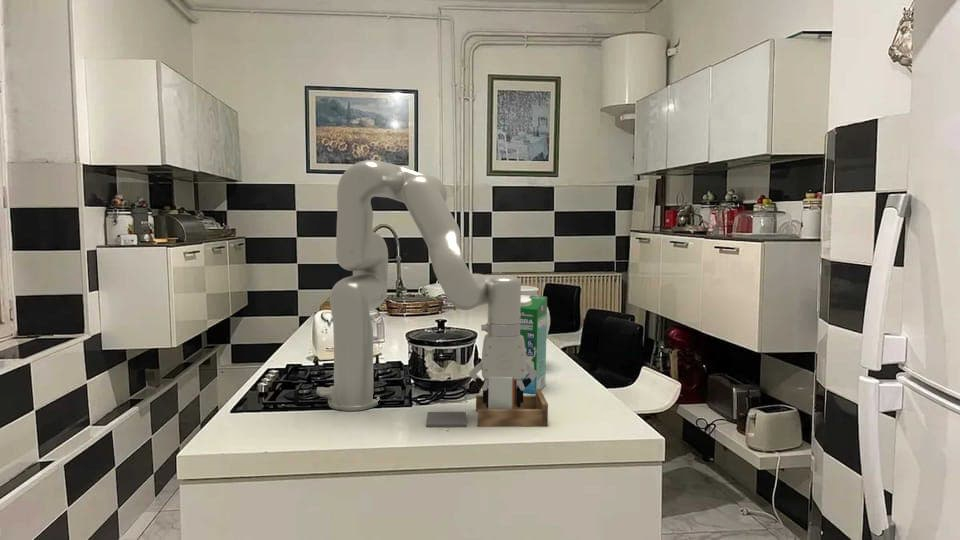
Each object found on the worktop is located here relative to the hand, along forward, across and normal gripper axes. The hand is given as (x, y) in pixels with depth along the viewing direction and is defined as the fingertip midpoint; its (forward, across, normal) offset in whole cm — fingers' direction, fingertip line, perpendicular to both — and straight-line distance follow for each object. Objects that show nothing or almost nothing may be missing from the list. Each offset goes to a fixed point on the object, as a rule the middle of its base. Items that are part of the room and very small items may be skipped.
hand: (502, 405), depth 150 cm
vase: (+3, +9, +47) cm, 48 cm away
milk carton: (+3, +8, +25) cm, 26 cm away
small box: (+3, 0, 0) cm, 3 cm away
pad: (+3, -13, -2) cm, 13 cm away
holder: (+3, +2, 0) cm, 4 cm away
